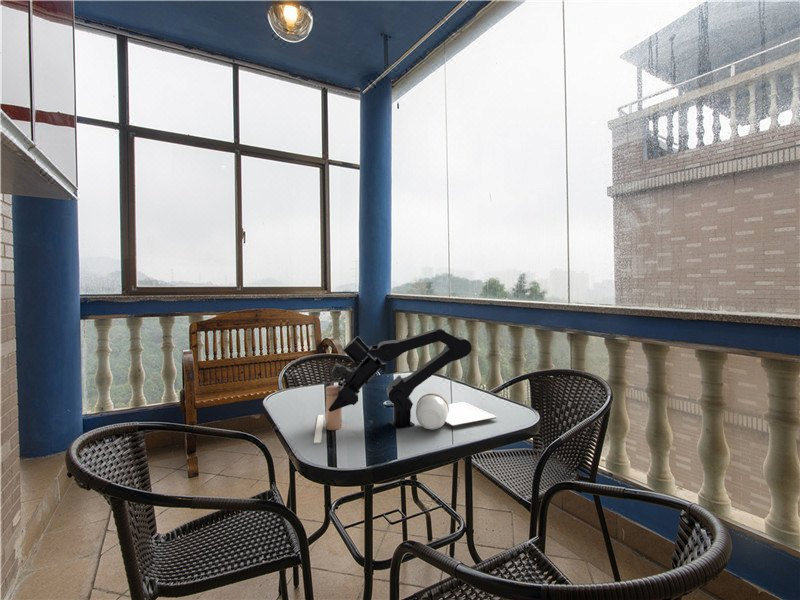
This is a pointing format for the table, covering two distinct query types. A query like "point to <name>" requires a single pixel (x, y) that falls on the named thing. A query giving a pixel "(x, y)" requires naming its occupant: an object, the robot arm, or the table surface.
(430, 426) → the white rounded piece
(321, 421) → the line
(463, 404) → the plate
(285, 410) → the table surface
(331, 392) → the tumbler
